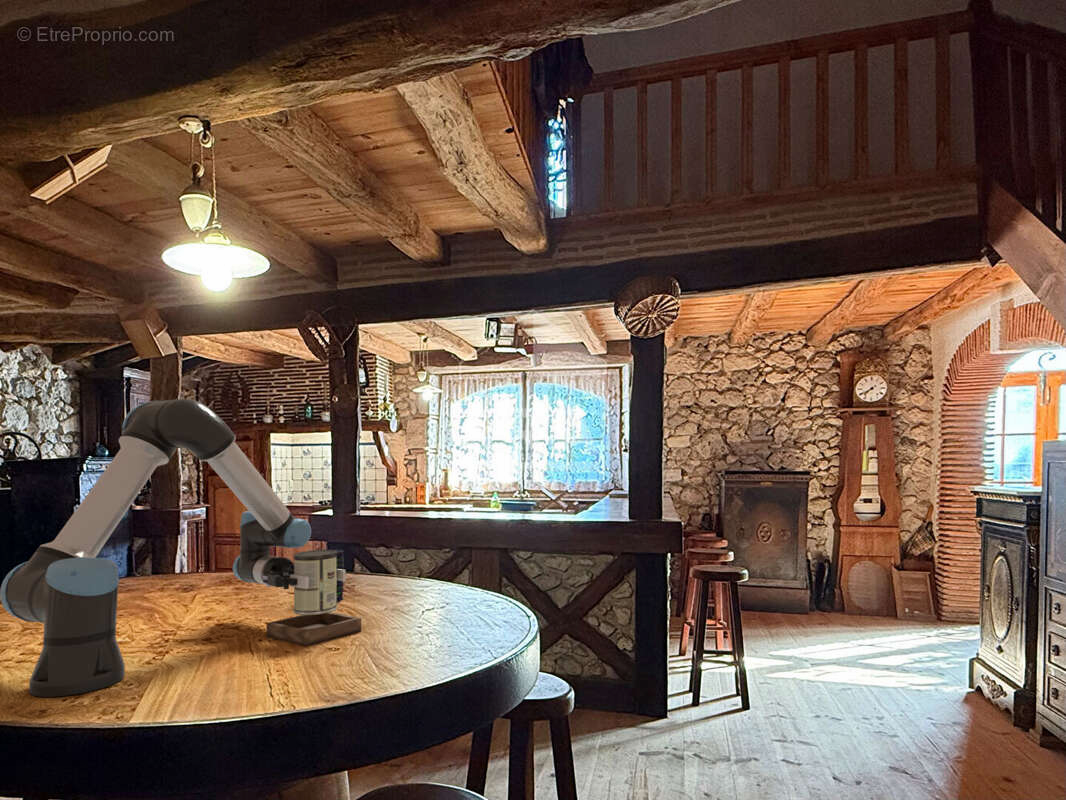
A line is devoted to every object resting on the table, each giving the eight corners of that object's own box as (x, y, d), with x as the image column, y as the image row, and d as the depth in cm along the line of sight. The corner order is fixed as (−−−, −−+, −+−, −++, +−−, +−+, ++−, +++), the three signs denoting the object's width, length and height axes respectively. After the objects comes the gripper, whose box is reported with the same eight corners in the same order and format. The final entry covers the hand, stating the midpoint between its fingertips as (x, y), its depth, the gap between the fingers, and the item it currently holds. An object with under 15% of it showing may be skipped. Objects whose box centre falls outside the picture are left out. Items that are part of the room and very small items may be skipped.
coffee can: (301, 606, 165) (301, 550, 167) (341, 605, 166) (342, 549, 167) (287, 616, 155) (287, 556, 156) (330, 614, 156) (330, 555, 157)
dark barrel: (315, 605, 192) (316, 554, 194) (305, 600, 200) (306, 551, 201) (348, 601, 198) (348, 551, 199) (337, 596, 206) (337, 548, 207)
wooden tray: (361, 631, 161) (361, 618, 162) (305, 646, 149) (305, 632, 149) (322, 622, 171) (322, 610, 171) (266, 636, 158) (266, 623, 158)
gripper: (311, 578, 181) (363, 586, 167) (233, 593, 163) (284, 603, 149) (311, 551, 181) (363, 557, 168) (234, 563, 163) (284, 570, 150)
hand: (326, 579), depth 159 cm, fingers closed on coffee can, 10 cm apart
